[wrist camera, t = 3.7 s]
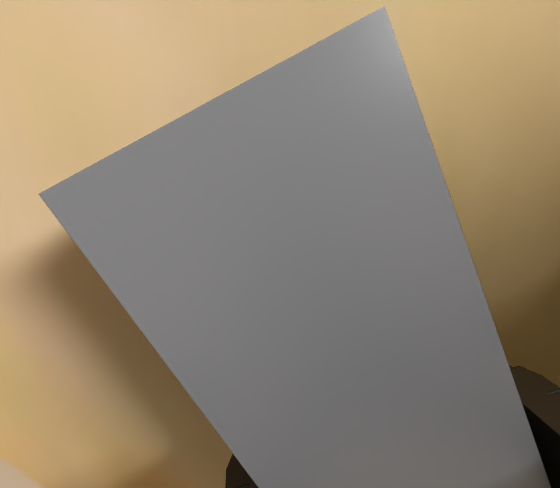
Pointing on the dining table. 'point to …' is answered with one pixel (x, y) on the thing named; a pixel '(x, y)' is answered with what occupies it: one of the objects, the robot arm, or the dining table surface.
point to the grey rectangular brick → (312, 278)
